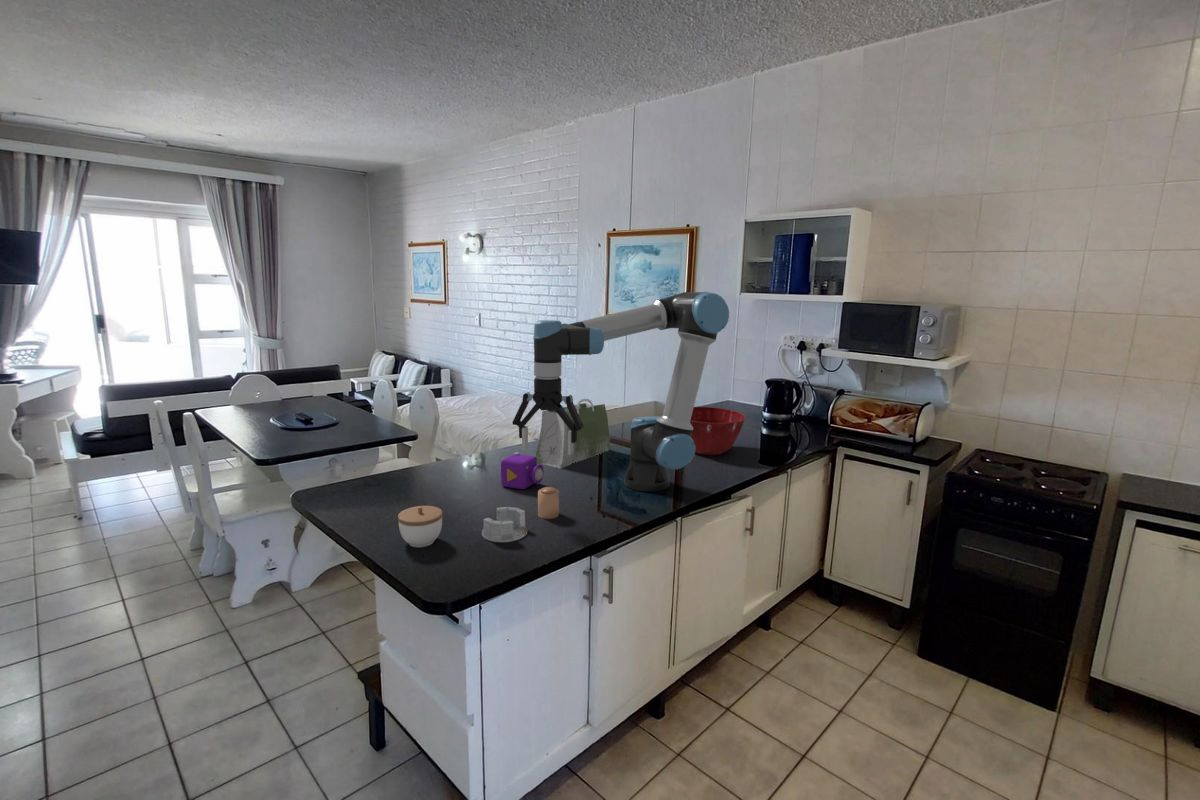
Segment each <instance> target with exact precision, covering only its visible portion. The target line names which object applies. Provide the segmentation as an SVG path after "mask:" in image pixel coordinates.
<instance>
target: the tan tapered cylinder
mask: <svg viewBox="0 0 1200 800" xmlns="http://www.w3.org/2000/svg"><path fill="white" fill-rule="evenodd" d="M559 515H560V490H558V489H556V488H555V487H553V486H546V487H545V486H544V487H542V488H540V489H539V490H538V491H537V516H538V517H539V518H541V519H545V520H550V519H551V520H552V519H556V518H558V517H559Z"/></svg>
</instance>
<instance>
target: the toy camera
mask: <svg viewBox="0 0 1200 800" xmlns="http://www.w3.org/2000/svg"><path fill="white" fill-rule="evenodd" d="M544 470H545V469H544V466H543V464H538V463H537V459H536V456H534V455H528V454H520V452H518V451H516V452H514V453H513V454H511V455H509V456H506V457H504V458H503V459H502V460H501V461H500V483H501V485H502V486H503V487H505V488H511V489H518V490H525V489H528V488H529V487H531V486H532V485H534V484H536V485H539V484H540V483H541V482H542V480H543V478H544V473H545V471H544Z"/></svg>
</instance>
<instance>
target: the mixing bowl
mask: <svg viewBox="0 0 1200 800" xmlns="http://www.w3.org/2000/svg"><path fill="white" fill-rule="evenodd" d="M745 420H746V415H745V414H743V413H742V412H739V411H738V410H737V411H736V410H733V409H727V408H724V407H723V408H721V407H714V406H713V407H712V406H694V408H693V412H692V416H691V420H690V423H691V425H692V427H693V432H692V436H691V438H692V439H693V441H694V444H695V454H698V455H705V456H719V455H723V454H724V453H726V452H727V451H729V450H730V449H731V448H732V447H733V445H734V444H735V442H736V440H737V438H738V437H739V435H740V433H741V431H742V427H743V425H744V422H745Z"/></svg>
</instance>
